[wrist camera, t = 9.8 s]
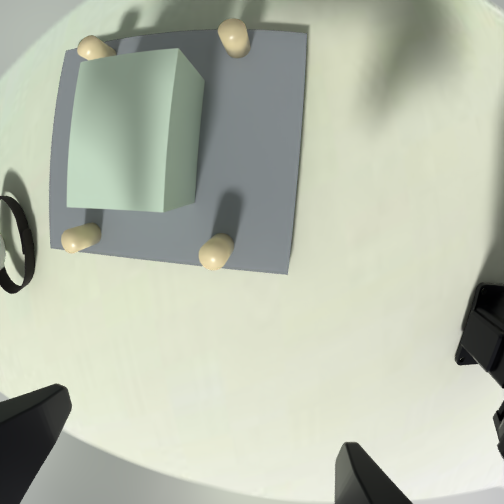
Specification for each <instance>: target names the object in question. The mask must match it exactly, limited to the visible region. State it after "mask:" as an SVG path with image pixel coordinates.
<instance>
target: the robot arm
mask: <svg viewBox="0 0 504 504" xmlns="http://www.w3.org/2000/svg"><path fill="white" fill-rule="evenodd" d="M483 288H484V290H483V292H482V289H483ZM461 358H462V359H461ZM460 359H461V360H460ZM455 362H456V363H457V364H458V365H471V364H479V365H480V366H481V367H482V368H483V369H484V370H485V371H486V372H488V373H489V374H490V375H491V376H492V377H493V378H494V379H495V381H496V382H497V383H498V384H499V385H500V386H501V387H502V388H503V389H504V284H494V283H480V284H479V285H478V287H477V289H476V293H475V297H474V301H473V304H472V308H471V311H470V315H469V318H468V321H467V325H466V328H465V331H464V334H463V337H462V340H461V343H460V346H459V349H458V351H457V354H456V357H455ZM71 409H72V403H71V400H70V396H69V392H68V389H67V388H66V387H65V386H62V385H60V384H53V385H50V386H47V387H44V388H41V389H39V390H36V391H33V392H30V393H27V394H24V395H21V396H18V397H15V398H12V399H9V400H6V401H3V402H0V504H20V502H21V500H22V499H23V497H24V495H25V493H26V492H27V490H28V488H29V486H30V485H31V483H32V481H33V479H34V478H35V476H36V474H37V473H38V471H39V469H40V468H41V466H42V464H43V463H44V461H45V460H46V458H47V456H48V455H49V453H50V451H51V450H52V448H53V446H54V445H55V443H56V441H57V439H58V437H59V435H60V433H61V431H62V429H63V426H64V424H65V422H66V420H67V418H68V416H69V414H70V412H71ZM493 420H494V424H495V427H496V431H497V435H498V439H499V443H498V445H497V447H498V450H499V452H500V454H501V456H502V458H503V459H504V401H503V403H502V404H501V406H500V408H499V410H497V411H496V413H495V414H494V416H493ZM335 504H413V503H412V502H411V501H410V500H409V499H408V498H407V497H406V496H405V495H404V494H403V493H402V491H401V490H400V489H399V488H398V487H397V486H396V485H395V484H394V483H393V482H392V481H391V479H390V478H389V477H388V476H387V475H386V474H385V473H384V472H383V471H382V469H381V468H380V467H379V466H378V465H377V464H376V463H375V462H374V461H373V459H372V458H371V457H370V456H369V455H368V454H367V453H366V451H365V450H364V449H363V448H362V447H361V446H360V445H359V444H358V443H357V442H345V443H344V444H343V445H342V447H341V449H340V452H339V454H338V456H337V458H336V463H335Z"/></svg>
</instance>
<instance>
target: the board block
mask: <svg viewBox="0 0 504 504" xmlns="http://www.w3.org/2000/svg"><path fill="white" fill-rule="evenodd" d="M204 84H205V80H204V79H203V78H202V76H201V75H200V74H199V73H198V71H197V70H196V69H195V68H194V66H193V65H192V64H191V63H190V61H189V60H188V59H187V58H186V57H185V55H184V54H183V53H182V52H181V50H180V49H179V48H175V49H163V50H152V51H144V52H136V53H128V54H122V55H115V56H109V57H104V58H98V59H93V60H88V61H83V62H81V63H80V68H79V73H78V79H77V85H76V91H75V97H74V105H73V112H72V121H71V130H70V141H69V154H68V171H67V207H71V208H94V209H113V210H131V211H148V212H166V211H170V210H173V209H176V208H179V207H182V206H186V205H189V204H192V203H195V188H196V173H197V159H198V147H199V135H200V124H201V113H202V103H203V93H204Z"/></svg>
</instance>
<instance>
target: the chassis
mask: <svg viewBox="0 0 504 504" xmlns="http://www.w3.org/2000/svg"><path fill="white" fill-rule="evenodd" d="M306 45H307V33H298V32H287V31H273V30H250V29H246V25H245V24H244V22H242V21H241V20H239V19H227V20H225V21H223V22H222V23H221V24H220V25H219V27H218V29H215V30H192V31H178V32H167V33H157V34H149V35H142V36H135V37H128V38H122V39H117V40H111V41H106V42H102V41H101V40H99V39H98V38H96V37H95V36H93V35H90V36H87V37H85V38H84V39H83V40H82V41H81V42H80V43H79V45H78V48H75V49H71V50H67V51H66V53H65V57H64V62H63V67H62V72H61V77H60V83H59V88H58V95H57V101H56V108H55V116H54V124H53V134H52V145H51V159H50V182H49V222H50V245H51V248H53V249H61V250H65V251H67V252H68V253H75V252H85V253H93V254H101V255H109V256H117V257H126V258H134V259H143V260H152V261H160V262H169V263H178V264H188V265H197V266H204V267H205V268H207V269H209V270H218V269H220V268H225V269H235V270H245V271H255V272H265V273H275V274H286V275H288V268H289V259H290V250H291V240H292V231H293V221H294V211H295V200H296V190H297V178H298V167H299V155H300V142H301V129H302V115H303V100H304V84H305V66H306ZM175 48H179V49H180V50H181V52H182V53H183V54H184V55H185V57H186V58H187V59H188V60H189V61H190V63H191V64H192V65H193V66H194V68H195V69H196V70H197V71H198V73H199V74H200V75H201V76H202V78H203V79H204V80H205V84H204V93H203V103H202V113H201V124H200V135H199V147H198V159H197V173H196V188H195V203H192V204H189V205H186V206H182V207H179V208H176V209H173V210H170V211H166V212H148V211H131V210H113V209H94V208H71V207H67V171H68V154H69V141H70V130H71V121H72V112H73V105H74V97H75V91H76V85H77V79H78V73H79V68H80V63H81V62H83V61H88V60H93V59H98V58H104V57H109V56H115V55H122V54H128V53H136V52H144V51H152V50H163V49H175Z"/></svg>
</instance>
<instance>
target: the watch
mask: <svg viewBox="0 0 504 504" xmlns="http://www.w3.org/2000/svg"><path fill="white" fill-rule="evenodd" d="M1 199H2V200H4V201H5V202H6V203H7V204H8V206H9V207H10V208H11V210H12V212H13V214H14V216H15V218H16V222H17V226H18V230H19V234H20V238H21V244H22V252H23V254H25V277H24V281H23V284H22V286H18V285H16V284H15V283H13V281H12V280H11V279H10V277H9V276H8V274H7V272H6V269H5V266H4V262H5V256H6V251H5V244H4V240H3V238H2V235H1V234H0V285H1V287H2V288H3V289H4V290H5V291H6V292H8V293H10V294H14V293H17V292H18V291H20V290H21V289H22V288H24V287H25V286H26V285H28V284H29V283H30V281H31V279H32V278H33V274H34V268H35V256H34V247H33V246H34V243H33V240H32V234H31V229H29V228H28V223H27V220H26V216H25V214H24V211H23V209H22V208H21V206H20V204H19V203H18V202H17V201H16V200H15V199H13V198H12V197H9V196H0V200H1Z"/></svg>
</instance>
